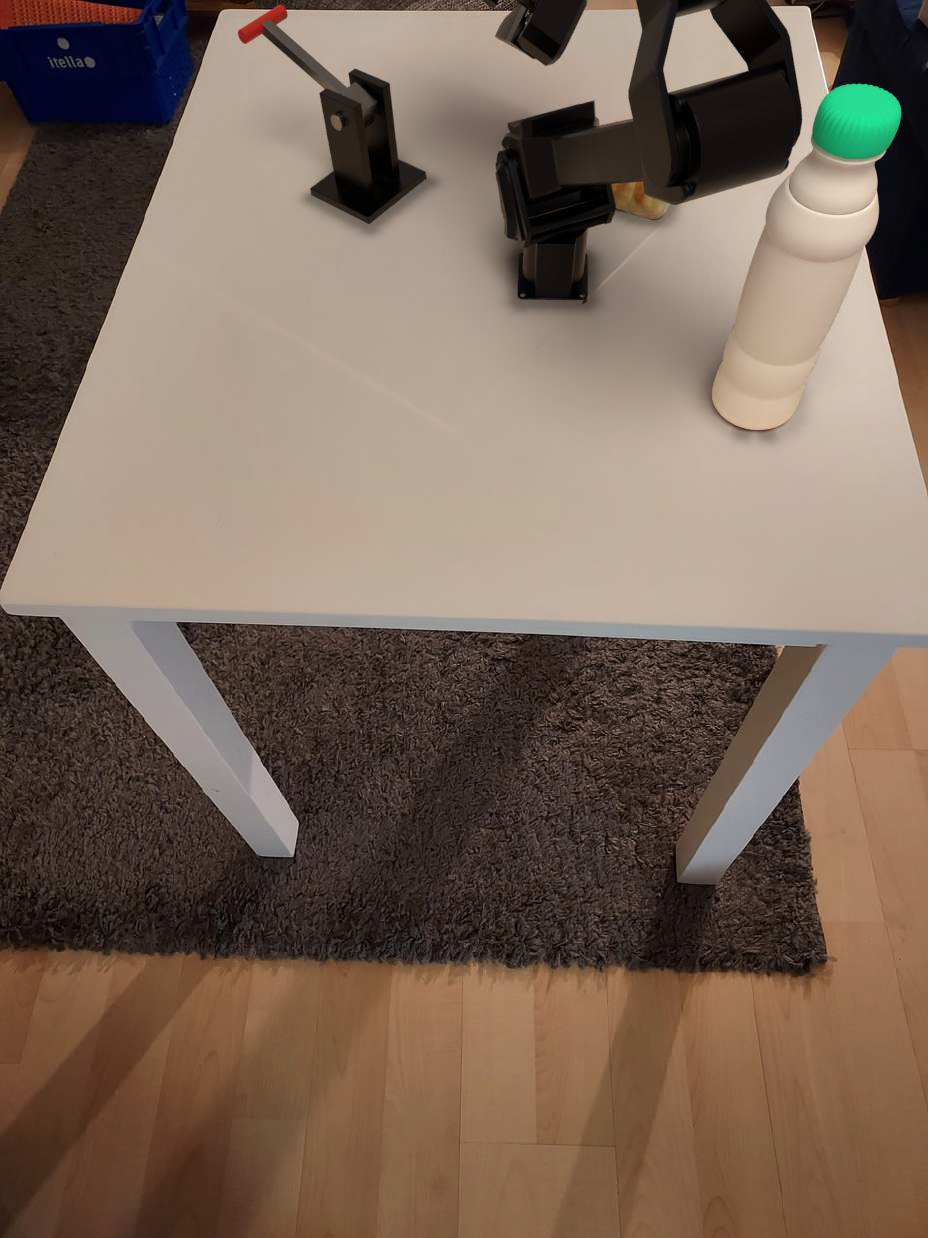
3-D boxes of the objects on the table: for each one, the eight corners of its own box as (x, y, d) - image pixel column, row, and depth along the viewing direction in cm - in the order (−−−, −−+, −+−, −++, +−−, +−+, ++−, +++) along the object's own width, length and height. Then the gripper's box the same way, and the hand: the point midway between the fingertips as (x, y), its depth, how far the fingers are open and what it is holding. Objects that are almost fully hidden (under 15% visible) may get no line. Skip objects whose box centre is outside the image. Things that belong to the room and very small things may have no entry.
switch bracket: (312, 198, 87) (290, 96, 78) (369, 155, 90) (355, 52, 81) (369, 228, 84) (353, 125, 75) (426, 182, 87) (418, 78, 78)
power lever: (237, 44, 80) (237, 20, 77) (278, 18, 82) (278, -6, 79) (347, 141, 80) (350, 120, 77) (385, 113, 82) (389, 92, 79)
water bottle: (799, 380, 72) (929, 74, 50) (790, 441, 69) (925, 143, 47) (716, 365, 73) (808, 60, 51) (703, 425, 70) (796, 126, 48)
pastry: (571, 205, 84) (574, 169, 81) (594, 167, 87) (598, 131, 84) (661, 227, 82) (668, 191, 79) (682, 187, 85) (689, 151, 82)
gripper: (653, -103, 66) (579, -20, 80) (447, -283, 59) (407, -157, 74) (585, 37, 67) (525, 93, 82) (379, -123, 61) (352, -31, 75)
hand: (457, 1), depth 78 cm, fingers open, 9 cm apart
